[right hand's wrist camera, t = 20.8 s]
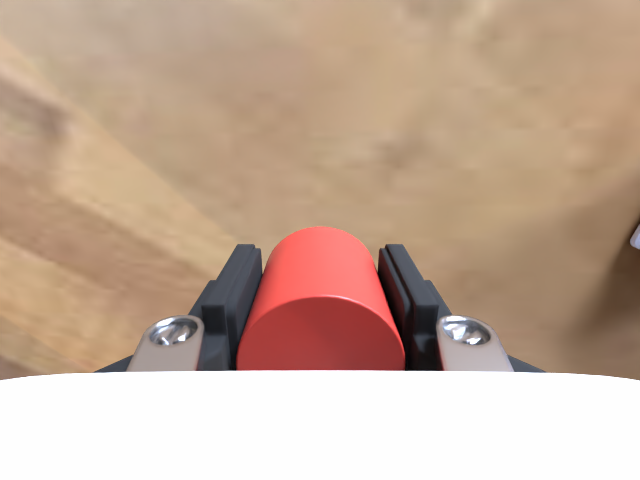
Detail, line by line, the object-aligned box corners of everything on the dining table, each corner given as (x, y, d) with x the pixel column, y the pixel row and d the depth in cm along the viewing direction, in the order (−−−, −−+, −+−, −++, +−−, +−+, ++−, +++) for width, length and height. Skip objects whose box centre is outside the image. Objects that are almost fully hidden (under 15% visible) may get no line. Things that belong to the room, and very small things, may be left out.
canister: (247, 247, 12) (206, 325, 8) (356, 210, 11) (378, 272, 7) (288, 337, 13) (273, 448, 9) (388, 308, 13) (423, 409, 8)
